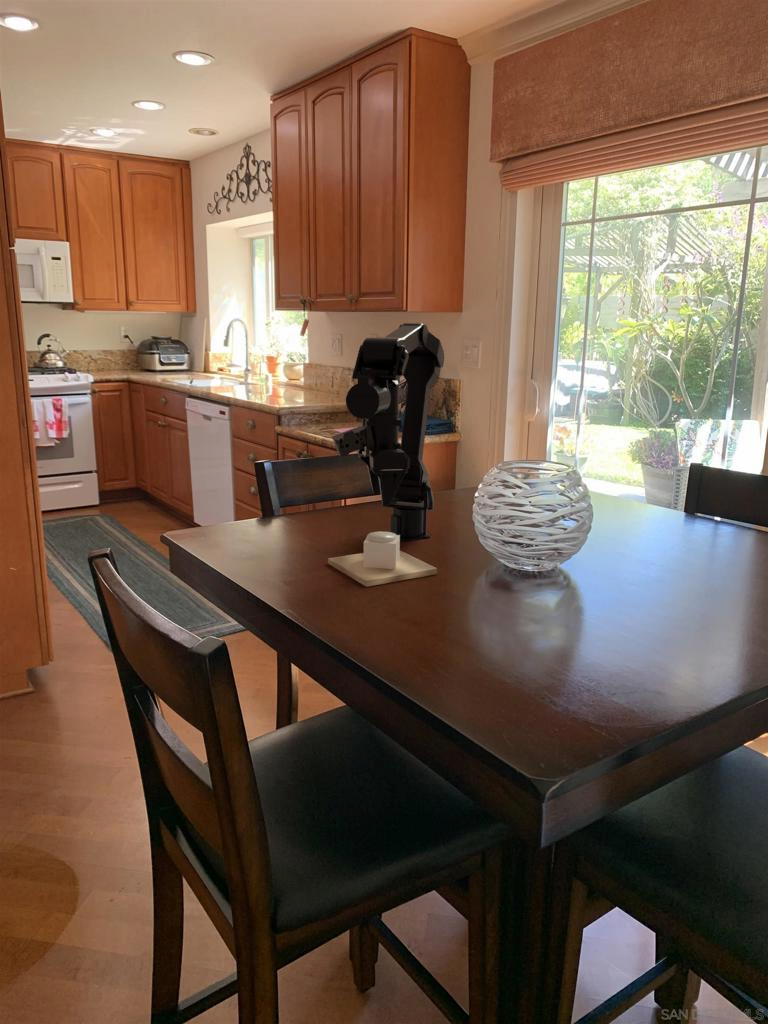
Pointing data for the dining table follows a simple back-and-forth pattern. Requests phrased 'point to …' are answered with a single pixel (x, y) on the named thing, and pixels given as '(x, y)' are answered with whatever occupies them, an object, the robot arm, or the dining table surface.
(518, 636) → the dining table surface
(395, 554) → the white domed square block
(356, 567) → the stud plate
